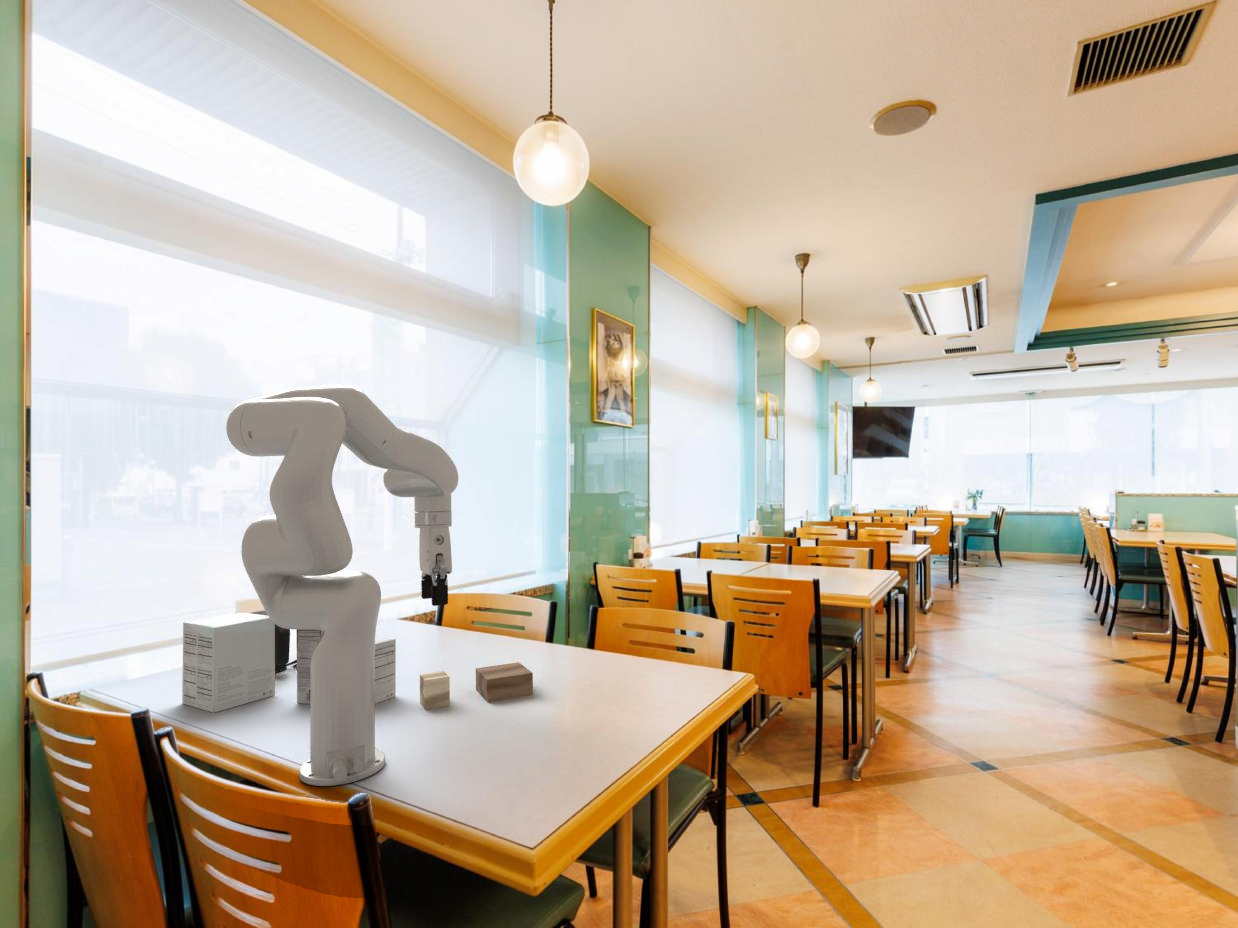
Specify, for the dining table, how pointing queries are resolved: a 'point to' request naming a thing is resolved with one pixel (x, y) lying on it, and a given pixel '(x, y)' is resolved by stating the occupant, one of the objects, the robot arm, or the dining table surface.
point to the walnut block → (504, 682)
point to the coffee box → (305, 661)
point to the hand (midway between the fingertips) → (434, 601)
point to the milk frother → (280, 646)
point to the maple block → (434, 690)
